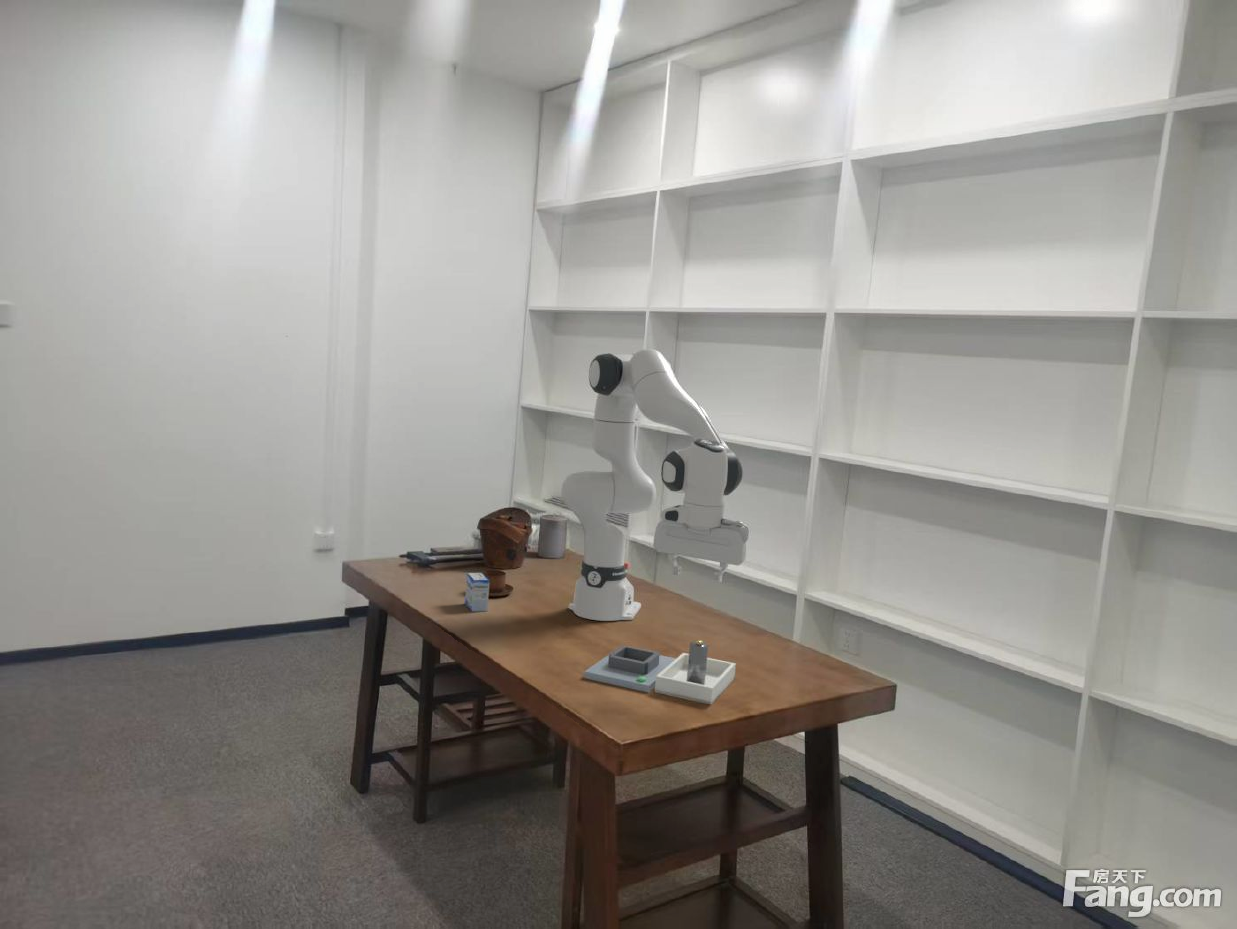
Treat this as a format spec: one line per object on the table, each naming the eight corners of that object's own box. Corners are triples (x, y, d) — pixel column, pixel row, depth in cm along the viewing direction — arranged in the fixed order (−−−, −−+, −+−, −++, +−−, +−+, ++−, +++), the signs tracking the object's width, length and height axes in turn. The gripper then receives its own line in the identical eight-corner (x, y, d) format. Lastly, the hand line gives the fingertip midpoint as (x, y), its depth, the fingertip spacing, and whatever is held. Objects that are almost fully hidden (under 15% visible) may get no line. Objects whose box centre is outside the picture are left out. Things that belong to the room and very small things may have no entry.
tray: (681, 667, 203) (683, 652, 202) (734, 678, 198) (735, 663, 198) (654, 692, 186) (656, 676, 186) (711, 704, 181) (712, 688, 181)
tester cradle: (619, 653, 210) (620, 636, 209) (679, 665, 204) (680, 648, 203) (583, 678, 191) (585, 660, 191) (648, 692, 186) (650, 674, 185)
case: (482, 573, 276) (485, 516, 274) (469, 558, 295) (472, 505, 293) (537, 572, 283) (541, 516, 281) (521, 557, 301) (524, 505, 299)
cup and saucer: (466, 589, 257) (467, 568, 256) (507, 587, 261) (508, 567, 261) (475, 600, 246) (477, 578, 245) (517, 599, 250) (519, 577, 250)
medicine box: (464, 603, 241) (466, 572, 240) (480, 603, 243) (482, 572, 242) (471, 612, 234) (473, 580, 233) (487, 611, 236) (489, 579, 235)
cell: (689, 677, 194) (693, 637, 193) (707, 681, 193) (711, 640, 192) (683, 683, 191) (687, 641, 190) (701, 687, 189) (705, 645, 188)
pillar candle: (549, 551, 314) (552, 510, 313) (570, 556, 309) (573, 514, 307) (531, 555, 306) (534, 512, 305) (553, 560, 301) (556, 517, 299)
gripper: (753, 520, 189) (746, 583, 191) (663, 506, 197) (658, 566, 199) (745, 525, 184) (738, 589, 186) (653, 510, 191) (648, 572, 193)
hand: (696, 577), depth 192 cm, fingers open, 8 cm apart
